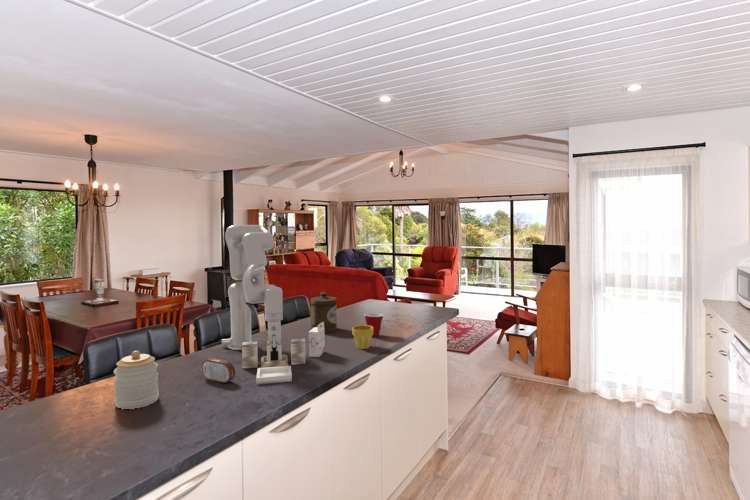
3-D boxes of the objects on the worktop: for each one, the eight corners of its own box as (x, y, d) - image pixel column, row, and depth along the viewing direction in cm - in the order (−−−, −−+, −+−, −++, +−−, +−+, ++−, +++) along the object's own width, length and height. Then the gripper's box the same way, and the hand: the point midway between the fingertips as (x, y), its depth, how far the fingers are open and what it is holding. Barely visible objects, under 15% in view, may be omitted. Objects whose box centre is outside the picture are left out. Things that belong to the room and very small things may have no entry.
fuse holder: (242, 370, 171) (241, 346, 170) (243, 363, 179) (243, 340, 179) (305, 365, 177) (305, 342, 176) (304, 358, 185) (304, 336, 185)
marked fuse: (267, 366, 175) (266, 343, 175) (267, 363, 179) (267, 340, 179) (281, 365, 177) (281, 342, 176) (281, 362, 181) (281, 339, 180)
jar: (127, 414, 131) (125, 359, 130) (107, 404, 138) (105, 352, 137) (167, 399, 142) (165, 348, 141) (146, 391, 149) (144, 343, 148)
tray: (256, 384, 156) (256, 378, 155) (257, 374, 166) (257, 368, 166) (291, 381, 159) (291, 375, 158) (290, 371, 169) (290, 365, 169)
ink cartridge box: (314, 351, 197) (314, 320, 196) (324, 351, 196) (324, 321, 195) (308, 356, 188) (308, 324, 187) (318, 357, 187) (318, 325, 186)
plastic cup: (387, 334, 226) (387, 313, 225) (377, 339, 216) (377, 316, 216) (370, 332, 231) (370, 310, 231) (359, 336, 222) (359, 314, 222)
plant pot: (364, 351, 196) (364, 331, 195) (347, 347, 202) (347, 327, 202) (377, 346, 204) (377, 326, 204) (361, 342, 210) (361, 323, 210)
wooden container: (335, 333, 229) (334, 293, 228) (308, 333, 229) (308, 293, 228) (337, 326, 244) (337, 289, 243) (312, 326, 244) (312, 289, 243)
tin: (236, 382, 158) (235, 360, 157) (230, 385, 155) (229, 363, 154) (207, 376, 164) (206, 355, 164) (200, 379, 161) (200, 358, 161)
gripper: (283, 320, 169) (283, 364, 170) (282, 311, 186) (283, 352, 187) (264, 321, 168) (264, 365, 169) (265, 312, 184) (265, 353, 185)
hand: (274, 358), depth 178 cm, fingers closed on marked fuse, 4 cm apart
